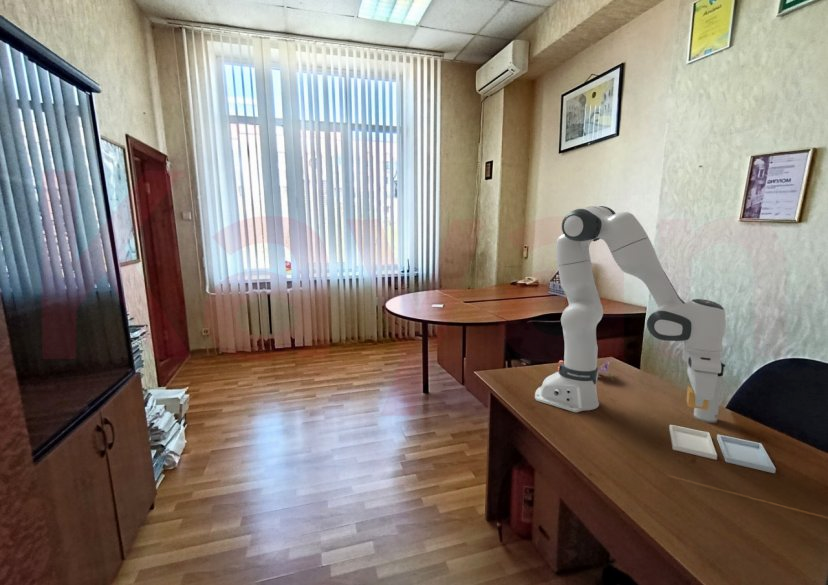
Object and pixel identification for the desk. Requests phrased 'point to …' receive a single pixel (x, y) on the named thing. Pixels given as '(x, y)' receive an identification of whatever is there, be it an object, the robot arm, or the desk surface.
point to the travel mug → (711, 403)
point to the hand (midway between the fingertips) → (696, 401)
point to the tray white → (692, 441)
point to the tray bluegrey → (745, 453)
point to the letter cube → (691, 400)
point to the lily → (605, 368)
